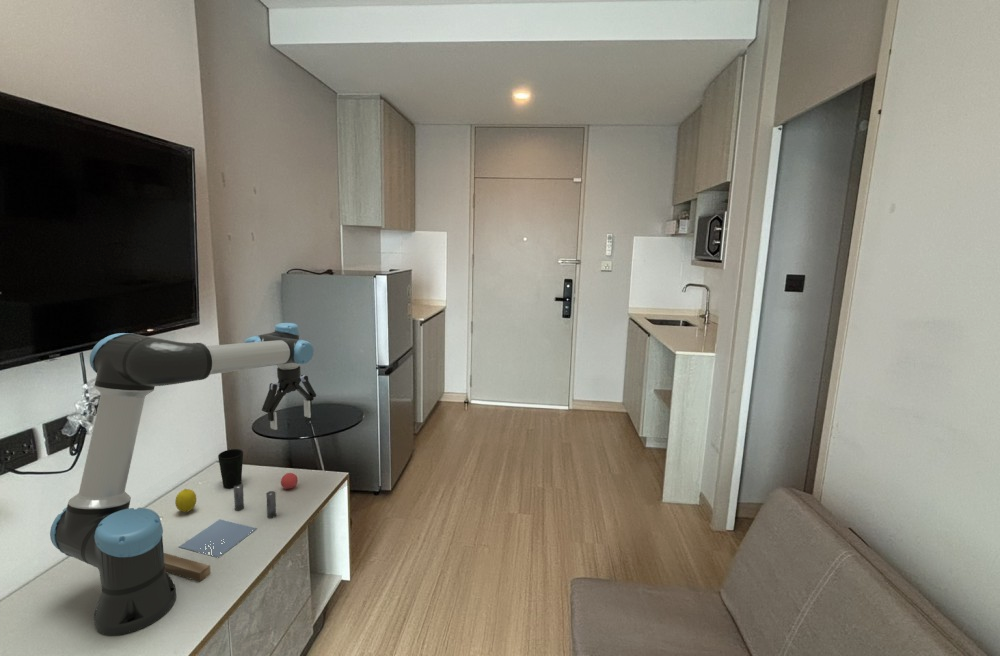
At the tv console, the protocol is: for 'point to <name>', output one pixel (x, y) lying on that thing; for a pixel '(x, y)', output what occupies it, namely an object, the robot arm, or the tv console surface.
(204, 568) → the wall
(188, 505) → the lemon
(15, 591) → the tv console surface
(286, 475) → the ball
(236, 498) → the post left
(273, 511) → the post right
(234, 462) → the cup
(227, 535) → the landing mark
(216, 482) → the tv console surface
